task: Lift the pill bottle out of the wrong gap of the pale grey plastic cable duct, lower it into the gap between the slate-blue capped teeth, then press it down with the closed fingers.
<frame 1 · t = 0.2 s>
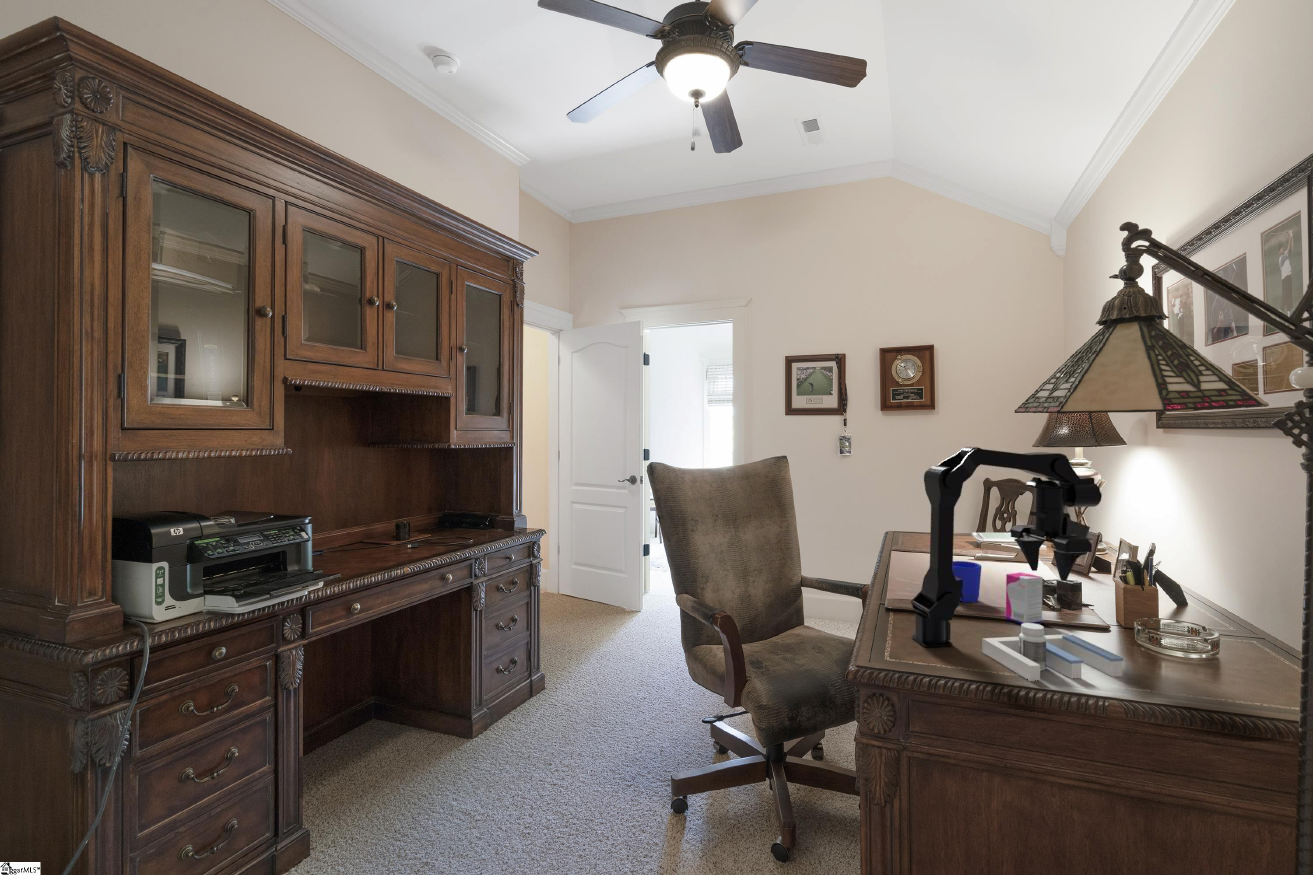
hand: (1048, 575, 141), 14 cm above the table, tool pointing down, fingers open, 9 cm apart
cable duct: (1050, 664, 127), on the table
mug: (959, 601, 171), on the table
supplement box: (1023, 621, 154), on the table
pill bottle: (1032, 667, 126), resting in cable duct
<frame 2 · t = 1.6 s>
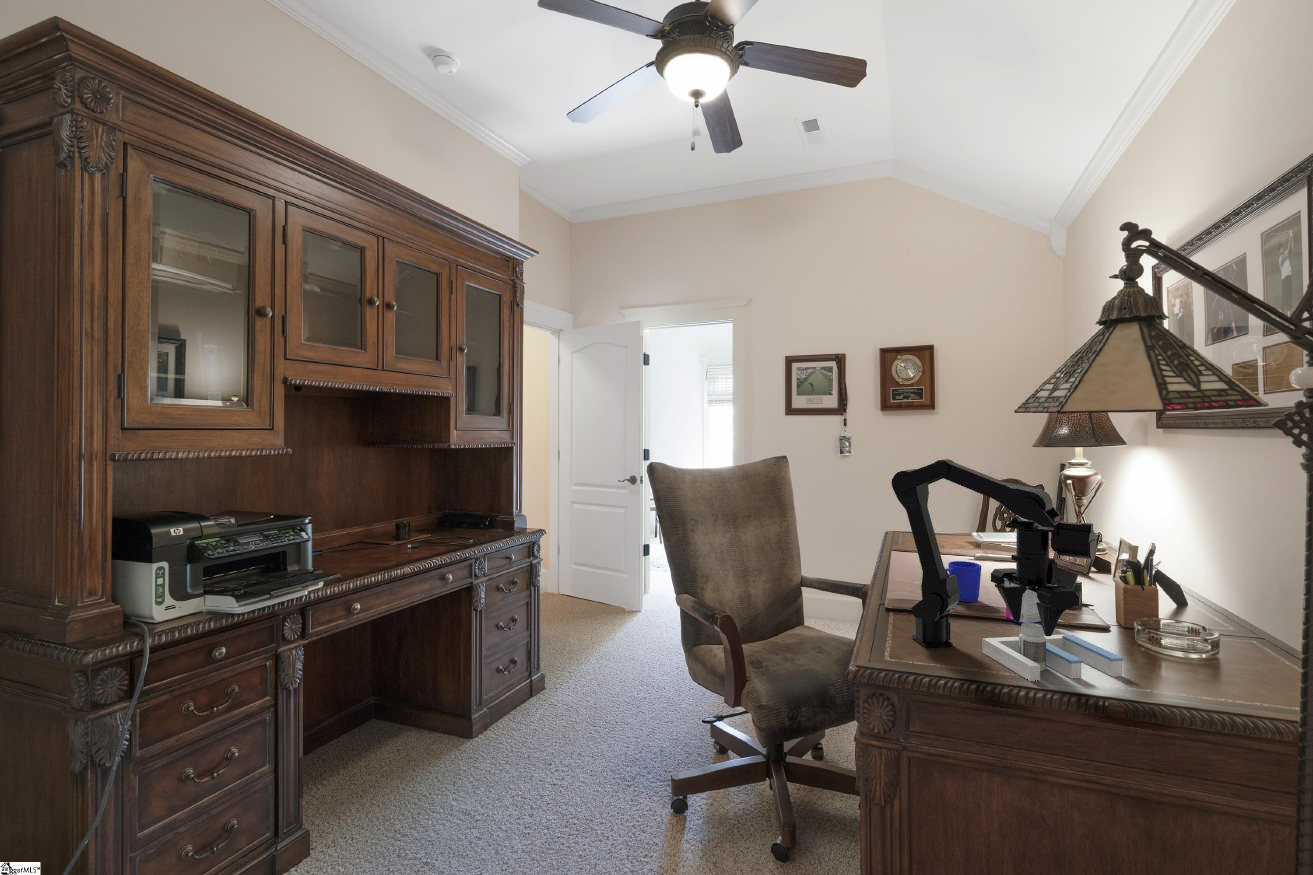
hand: (1031, 628, 126), 8 cm above the table, tool pointing down, fingers open, 9 cm apart
nothing on the table moved.
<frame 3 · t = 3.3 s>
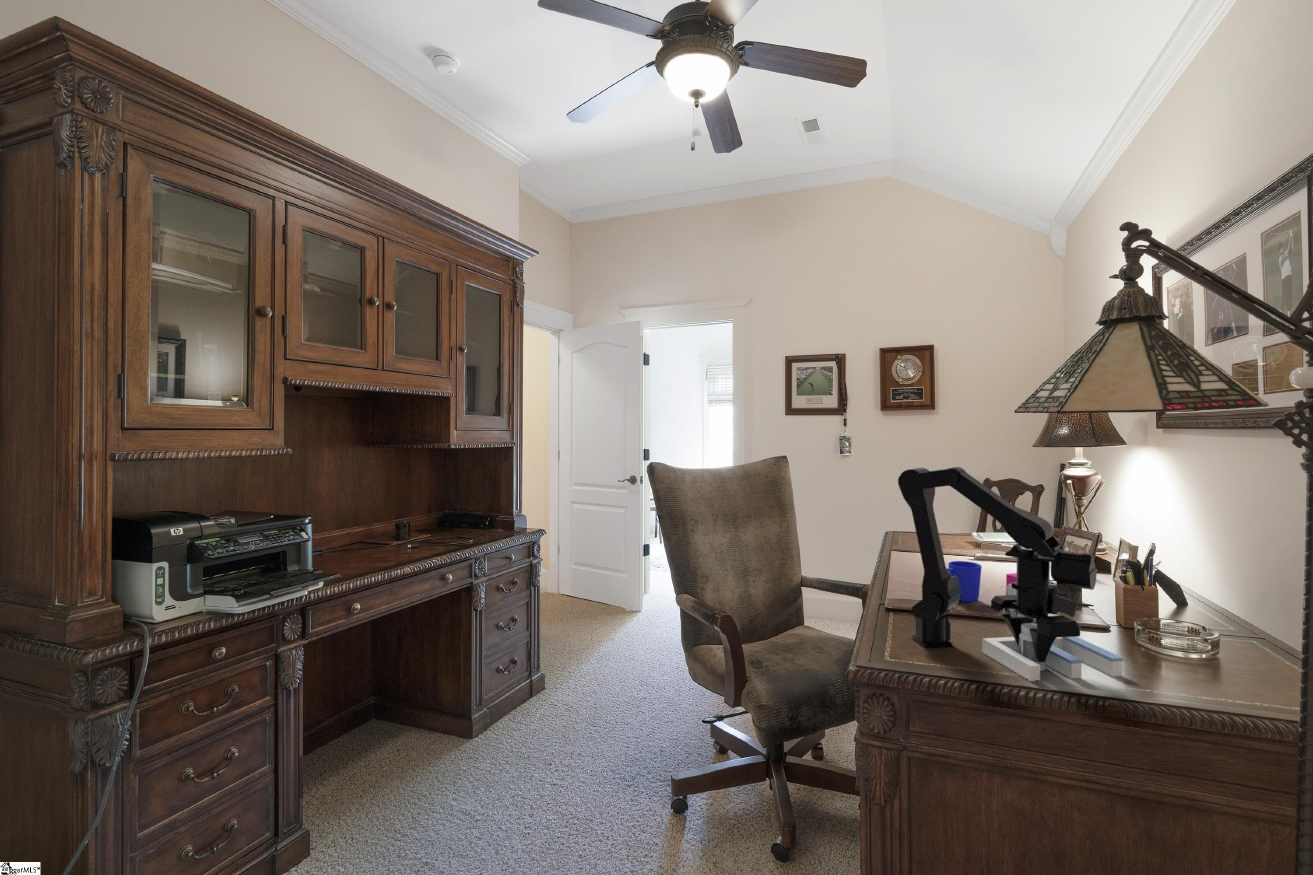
hand: (1032, 656, 126), 2 cm above the table, tool pointing down, fingers closed on pill bottle, 5 cm apart
pill bottle: (1032, 667, 126), resting in cable duct, touching gripper
everything else where it was.
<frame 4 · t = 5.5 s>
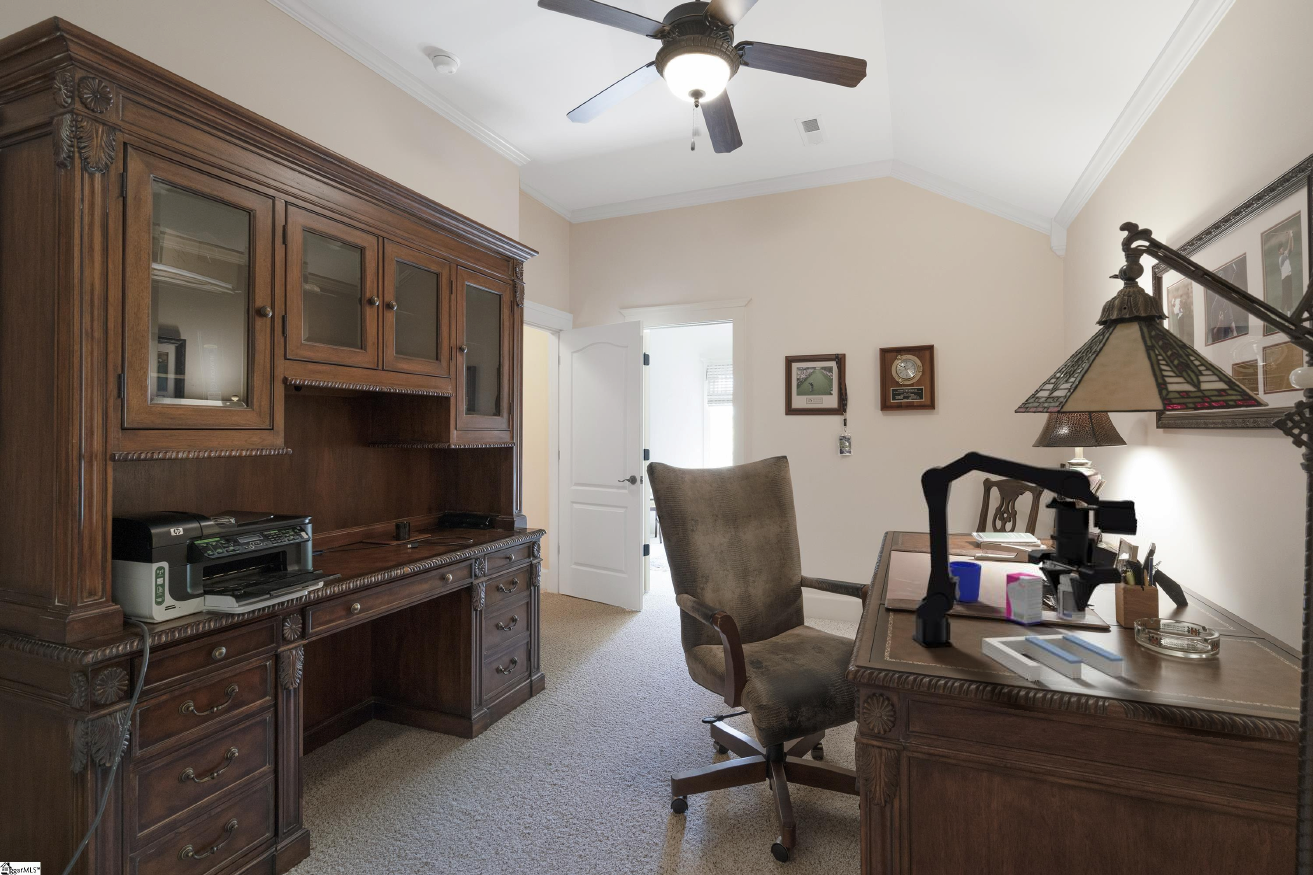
hand: (1071, 607, 126), 12 cm above the table, tool pointing down, fingers closed on pill bottle, 5 cm apart
pill bottle: (1071, 618, 126), point 10 cm above the table, touching gripper
everything else where it was.
when the fingers open (3 cm above the table, at t = 7.8 s): pill bottle drops 1 cm, resting in cable duct.
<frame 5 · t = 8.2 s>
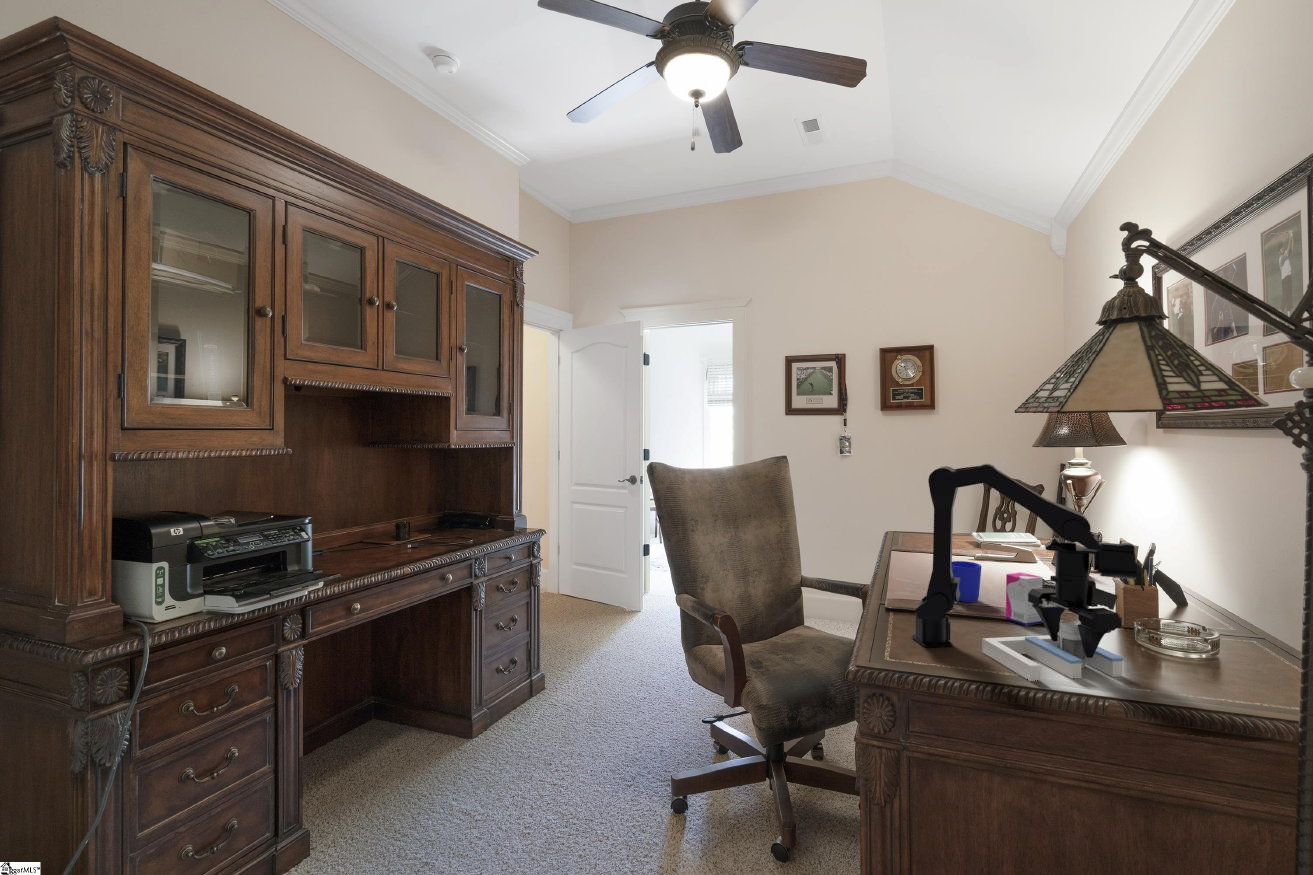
hand: (1071, 648, 126), 3 cm above the table, tool pointing down, fingers open, 9 cm apart
pill bottle: (1071, 665, 126), resting in cable duct
everything else where it was.
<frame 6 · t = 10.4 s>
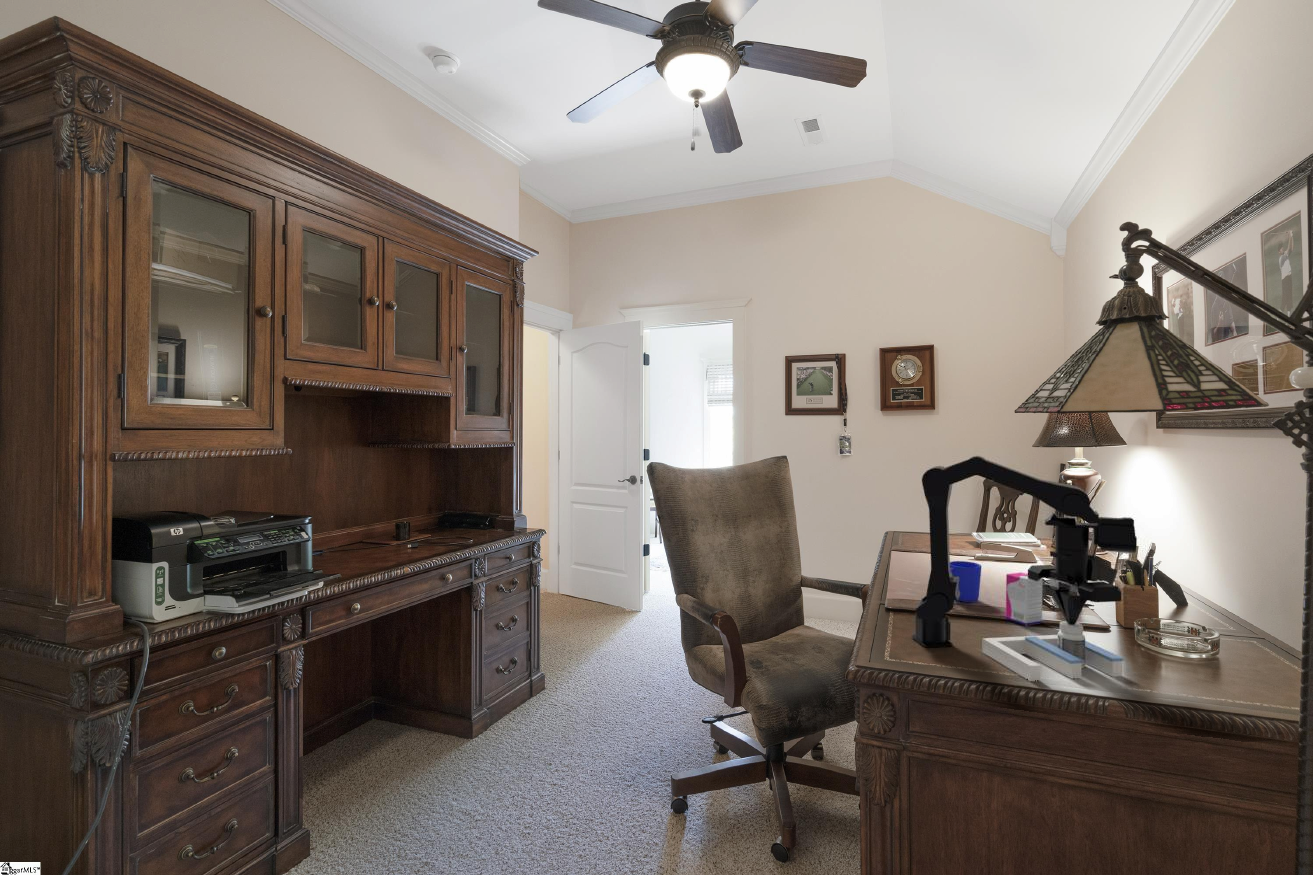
hand: (1071, 624, 126), 8 cm above the table, tool pointing down, fingers closed, pressing on pill bottle
pill bottle: (1071, 665, 126), resting in cable duct, touching gripper
everything else where it was.
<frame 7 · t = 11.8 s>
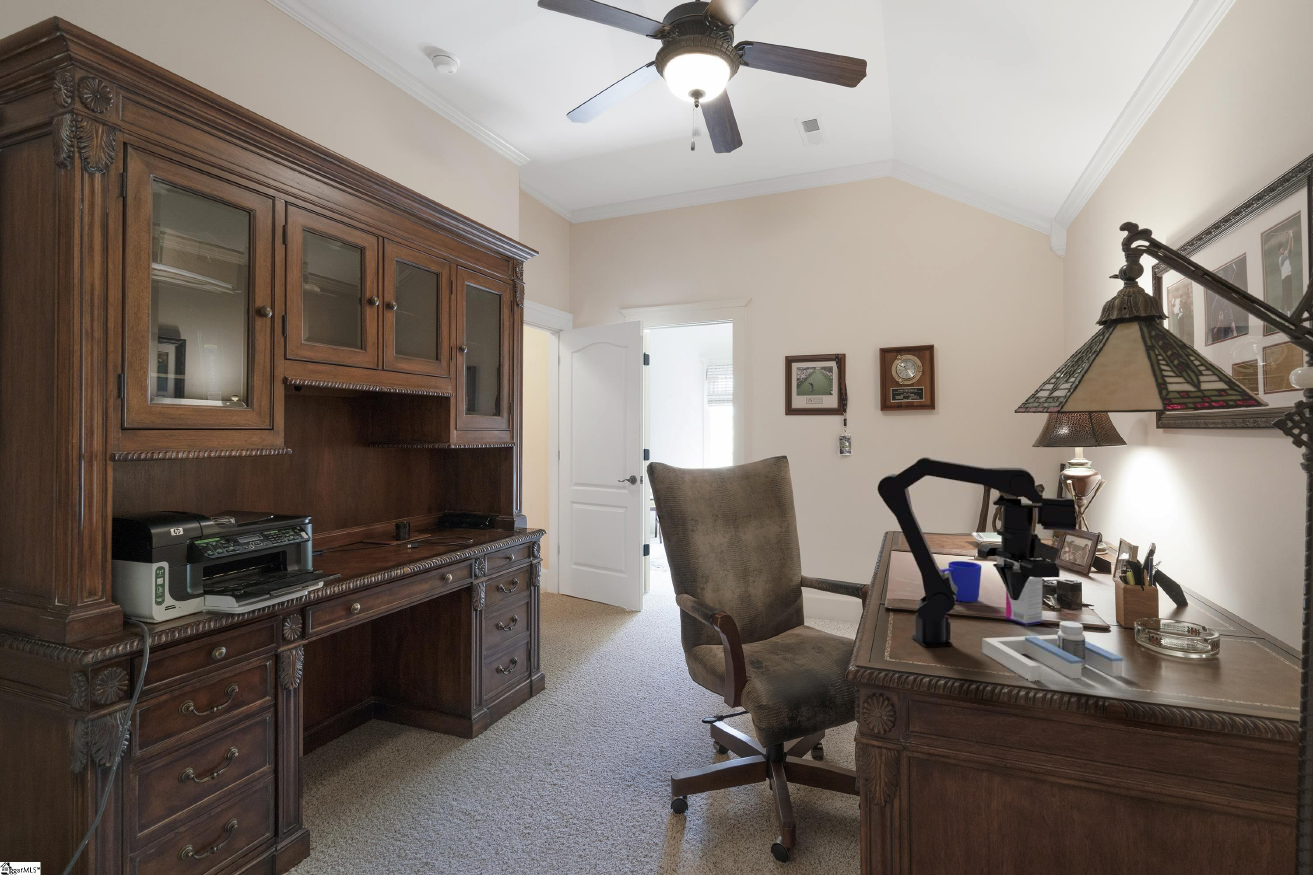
hand: (1014, 599, 132), 12 cm above the table, tool pointing down, fingers closed
pill bottle: (1071, 665, 126), resting in cable duct
everything else where it was.
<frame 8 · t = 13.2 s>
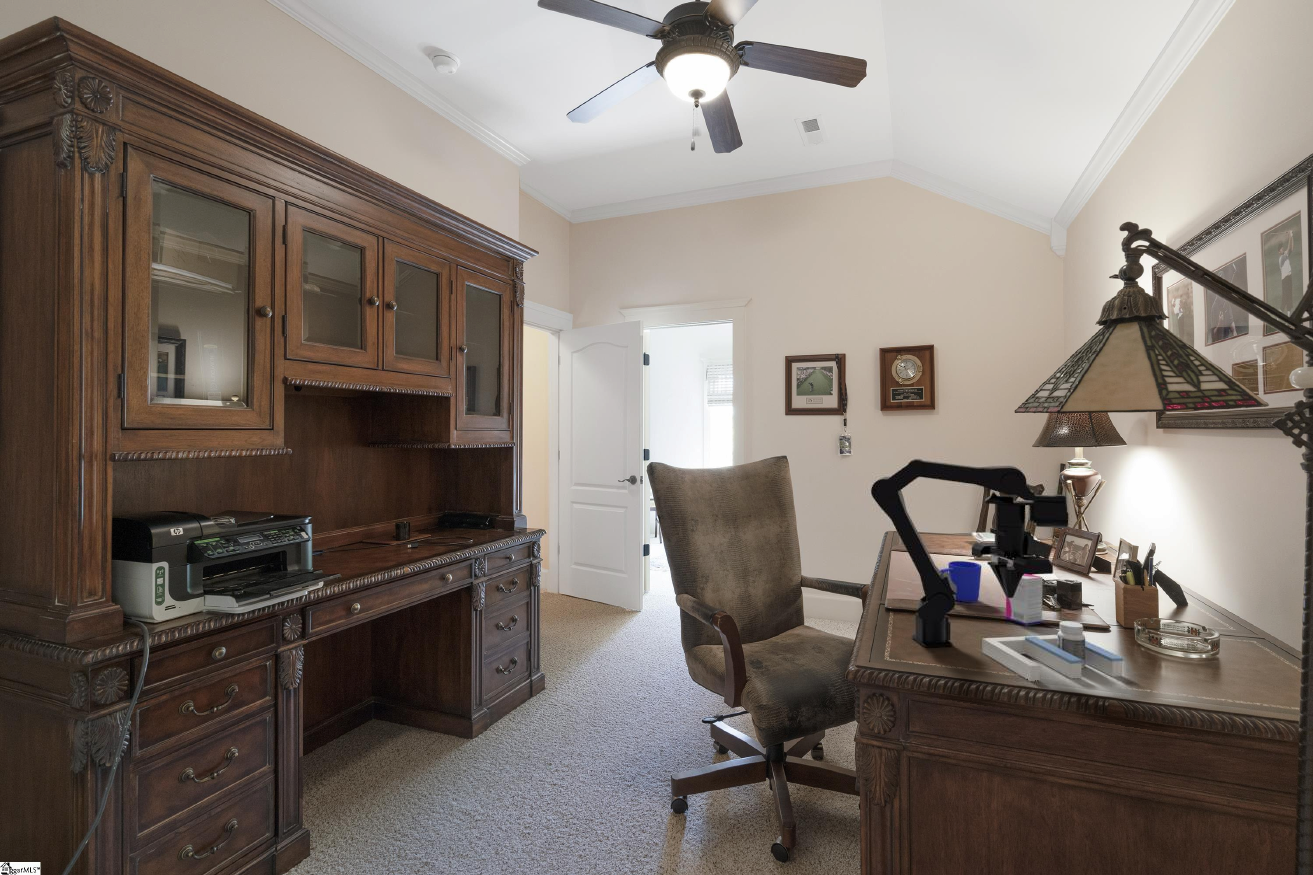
hand: (1009, 597, 133), 12 cm above the table, tool pointing down, fingers closed
nothing on the table moved.
at the end: pill bottle 0.1 cm from the target spot, resting in cable duct; pill bottle tilted 0°; the gripper is holding nothing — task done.
